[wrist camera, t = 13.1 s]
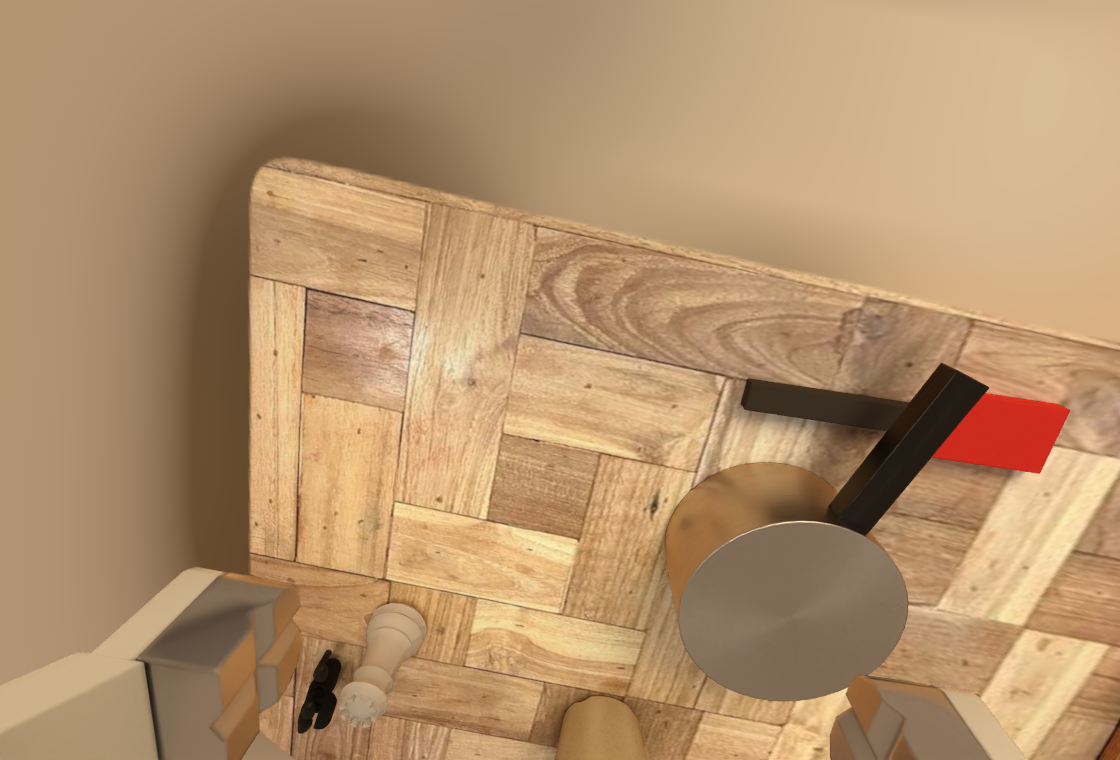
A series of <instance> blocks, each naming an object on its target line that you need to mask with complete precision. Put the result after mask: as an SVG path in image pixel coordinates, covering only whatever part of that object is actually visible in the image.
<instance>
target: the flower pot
mask: <svg viewBox="0 0 1120 760" xmlns="http://www.w3.org/2000/svg"><path fill="white" fill-rule="evenodd" d="M555 760H646V756H645V751H644V747H643V742H642V737H641V733H640V728H639V722H638V720H637V718H636V716H635V715H634V714H633V712H632V711H631V710H630V708H629V707H628V706H627V705H626V704H625V703H623V702H621V701H619V700H617V699H614V698H610V697H605V696H591V697H589V698H588V699H586V700H584V701H582V702H579V703H574V704H573V705H571V706H570V708H569V709H568V710H567V712H566V713H565V715H564V718H563V724H562V729H561V734H560V739H559V743H558V748H557V752H556V756H555Z"/></svg>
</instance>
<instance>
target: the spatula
mask: <svg viewBox="0 0 1120 760" xmlns="http://www.w3.org/2000/svg"><path fill="white" fill-rule="evenodd" d="M908 404H909V402H902V401H895V400H889V399H882V398H875V397H869V396H862V395H855V394H848V393H842V392H835V391H828V390H822V389H815V388H808V387H802V386H795V385H788V384H781V383H775V382H768V381H761V380H755V379H748V380H747V383H746V387H745V391H744V395H743V399H742V402H741V405H742V406H743V408H744V409H745V410H750V411H757V412H764V413H770V414H777V415H784V416H790V417H797V418H804V419H810V420H817V421H824V422H830V423H837V424H843V425H850V426H857V427H863V428H870V429H877V430H883V431H888V430H889V428H890V427H891V426H892V424H893V423H894V422H895V421H896V419H897V418H898V417H899V416H900V414H901V413H902V412H903V411H904V409H905V408H906V407H907V405H908ZM1069 412H1070V410H1069V409H1067V408H1065V407H1063V406H1060V405H1058V404H1053V403H1046V402H1039V401H1033V400H1026V399H1019V398H1012V397H1006V396H999V395H992V394H984V395H983V396H982V397H981V399H980V400H979V401H978V402H977V403H976V405H975V406H974V407H973V408H972V409H971V411H970V412H969V413H968V414H967V415H966V417H965V418H964V419H963V420H962V421H961V423H960V424H959V425H958V426H957V427H956V429H955V430H954V431H953V432H952V433H951V435H950V436H949V437H948V438H947V439H946V441H945V442H944V443H943V444H942V445H941V447H940V448H939V449H938V450H937V451H936V453H935V454H934V455H933V456H932V457H933V458H939V459H946V460H952V461H959V462H966V463H972V464H979V465H986V466H992V467H999V468H1005V469H1012V470H1019V471H1025V472H1032V473H1040V472H1041V470H1042V468H1043V466H1044V464H1045V462H1046V460H1047V458H1048V456H1049V454H1050V452H1051V449H1052V447H1053V445H1054V443H1055V441H1056V439H1057V437H1058V435H1059V433H1060V431H1061V429H1062V427H1063V425H1064V422H1065V420H1066V418H1067V416H1068V414H1069Z"/></svg>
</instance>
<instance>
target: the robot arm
mask: <svg viewBox="0 0 1120 760" xmlns="http://www.w3.org/2000/svg"><path fill="white" fill-rule="evenodd" d="M300 607H301V605H300V592H299V588H298V587H297V586H295V585H293V584H289V583H284V582H279V581H273V580H268V579H263V578H257V577H252V576H246V575H241V574H236V573H230V572H228V573H225V572H220V571H215V570H210V569H204V568H199V567H193V568H190V569H188V570H185V571H183V572H182V573H180V574H179V575H178V576H177V577H176V578H175V579H174V580H172V581H171V582H170V583H169V584H168V585H167V586H166V587H165V588H164V589H162V590H161V591H160V592H159V593H158V594H157V595H156V596H154V597H153V599H151V600H150V601H149V602H148V603H147V604H145V605H144V606H143V607H142V608H141V609H140V610H139V611H138V612H137V613H135V614H134V615H133V616H132V617H131V618H130V619H129V620H128V621H126V622H125V623H124V624H123V625H122V626H121V627H120V628H119V629H117V630H116V631H115V632H114V633H113V634H112V635H111V636H110V637H108V638H107V639H106V640H105V641H104V642H103V643H102V644H101V645H100V646H98V647H97V648H96V649H95V650H94V651H93V652H92V653H85V652H77V653H75V654H72V655H70V656H68V657H65V658H63V659H61V660H58V661H56V662H54V663H51V664H49V665H47V666H44V667H42V668H40V669H37V670H35V671H32V672H30V673H28V674H25V675H23V676H21V677H18V678H16V679H14V680H11V681H9V682H7V683H4V684H2V685H0V760H241V759H242V758H243V756H244V755H245V753H246V751H247V750H248V748H249V747H250V745H251V744H252V742H253V740H254V739H255V737H256V736H257V734H258V733H259V713H261V712H262V711H264V710H266V709H267V708H269V707H270V706H272V705H273V704H275V703H277V702H278V701H279V700H280V698H281V696H282V695H283V693H284V691H285V690H286V688H287V687H288V685H289V683H290V681H291V679H292V676H293V674H294V671H295V668H296V666H297V663H298V661H299V655H300V650H301V630H300V628H299V627H298V626H297V625H296V623H295V622H294V621H293V619H292V618H293V616H294V615H295V614H296V612H297V611H298V609H299V608H300ZM846 696H847V698H848V700H849V702H850V704H851V708H849V709H848V710H846V711H845V712H843V713H842V714H840V715H839V716H837V717H836V719H835V722H834V725H833V728H832V730H831V733H830V759H831V760H1028V759H1027V758H1026V757H1025V755H1024V754H1023V753H1022V752H1021V750H1020V749H1019V748H1018V746H1017V745H1016V744H1015V742H1014V741H1013V740H1012V739H1011V737H1010V736H1009V735H1008V733H1007V732H1006V731H1005V729H1004V728H1003V727H1002V726H1001V724H1000V723H999V722H998V720H997V719H996V718H995V716H994V715H993V714H992V713H991V711H990V710H989V709H988V707H987V706H986V705H985V703H984V702H983V701H982V700H981V699H980V698H979V697H978V696H976V695H975V694H974V693H972V692H971V691H969V690H965V689H958V688H951V687H944V686H937V685H926V684H922V683H915V682H908V681H902V680H895V679H888V678H882V677H875V676H868V675H862V674H859V675H858V676H856V677H855V678H854V679H853V680H851V683H850V685H849V687H848V690H847V692H846Z"/></svg>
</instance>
